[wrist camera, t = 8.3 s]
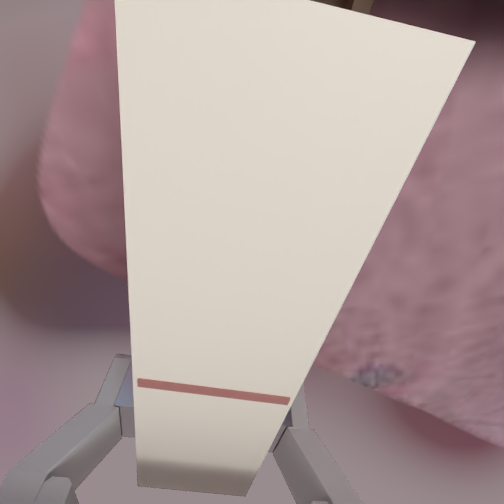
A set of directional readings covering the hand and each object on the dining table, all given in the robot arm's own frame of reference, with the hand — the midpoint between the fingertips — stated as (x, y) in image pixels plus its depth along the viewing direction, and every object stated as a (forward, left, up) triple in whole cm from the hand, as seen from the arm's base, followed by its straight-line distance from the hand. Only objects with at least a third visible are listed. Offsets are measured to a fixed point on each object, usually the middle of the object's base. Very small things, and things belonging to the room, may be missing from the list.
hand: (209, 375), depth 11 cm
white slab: (0, -4, -2) cm, 5 cm away
